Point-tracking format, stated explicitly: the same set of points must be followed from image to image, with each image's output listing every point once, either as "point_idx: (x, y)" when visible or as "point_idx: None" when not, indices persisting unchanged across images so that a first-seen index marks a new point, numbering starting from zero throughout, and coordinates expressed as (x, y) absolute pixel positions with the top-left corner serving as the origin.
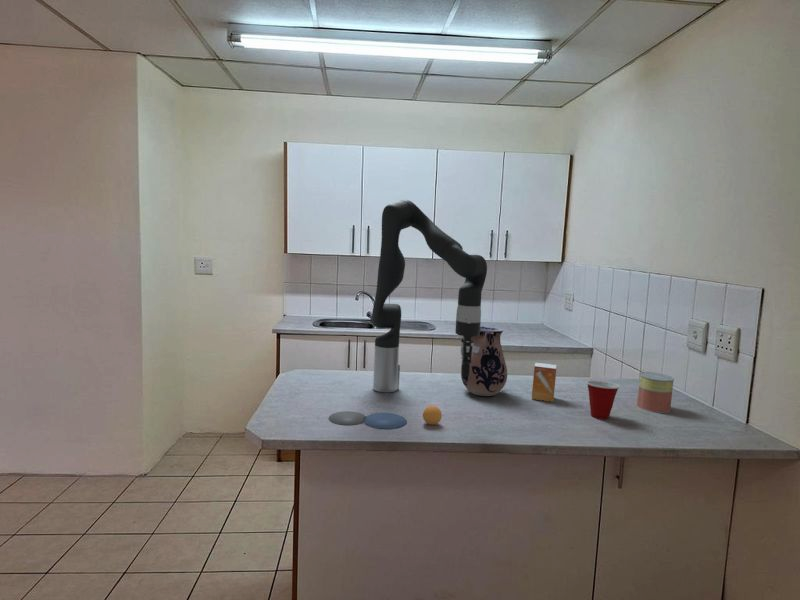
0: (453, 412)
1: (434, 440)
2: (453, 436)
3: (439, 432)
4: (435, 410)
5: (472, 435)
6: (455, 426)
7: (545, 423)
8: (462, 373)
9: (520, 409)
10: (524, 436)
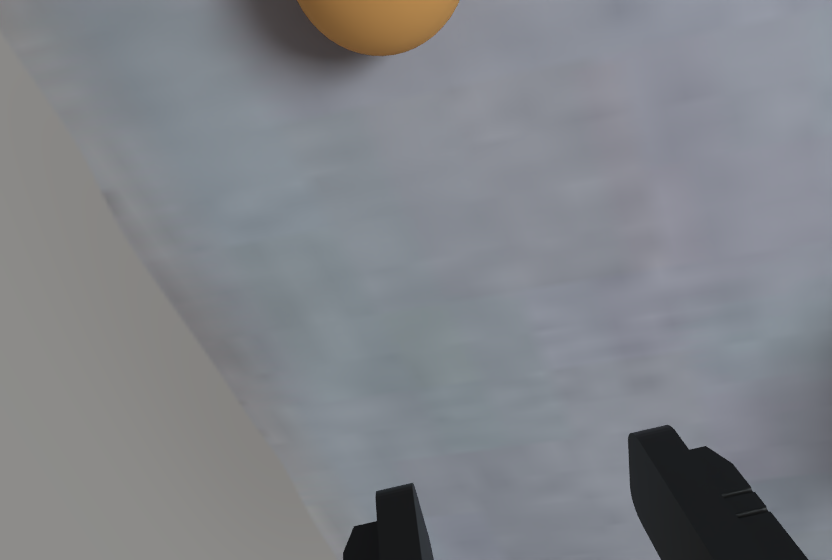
0: (701, 79)
1: (51, 65)
2: (210, 180)
3: (231, 66)
4: (331, 4)
5: (293, 286)
6: (406, 154)
7: (624, 555)
8: (378, 516)
9: (820, 444)
10: None
